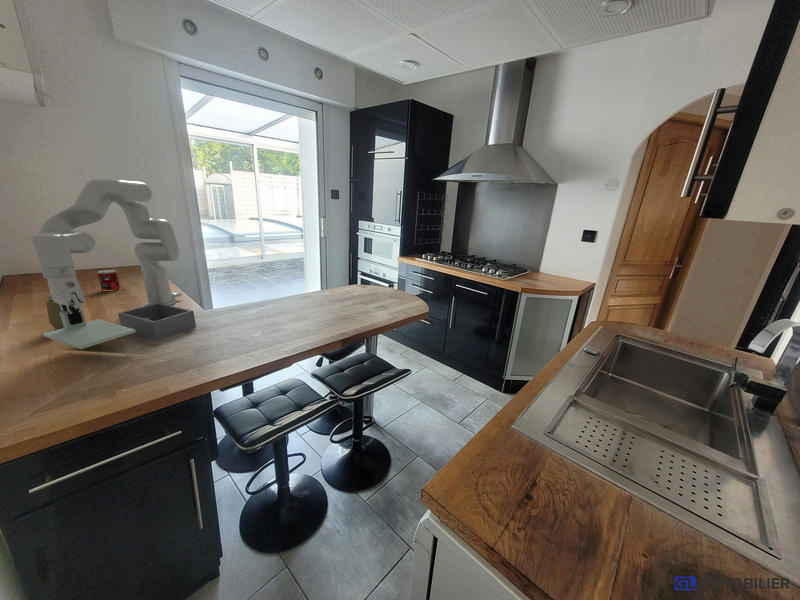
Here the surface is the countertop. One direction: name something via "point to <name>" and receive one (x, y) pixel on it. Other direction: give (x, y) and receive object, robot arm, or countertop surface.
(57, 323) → the squeeze bottle
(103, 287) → the canned food
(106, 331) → the lid
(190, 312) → the tub
